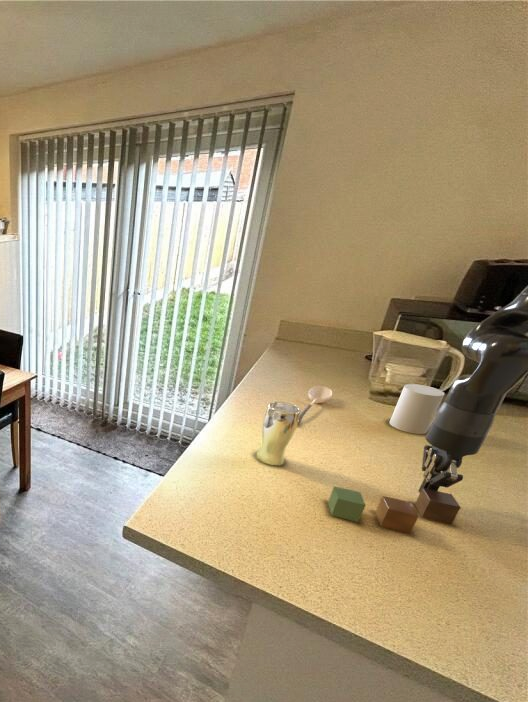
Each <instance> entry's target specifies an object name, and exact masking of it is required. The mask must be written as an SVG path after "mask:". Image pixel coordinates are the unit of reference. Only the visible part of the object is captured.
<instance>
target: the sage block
mask: <svg viewBox="0 0 528 702" xmlns="http://www.w3.org/2000/svg"><path fill="white" fill-rule="evenodd" d="M327 504H328V508H329V511H330V516H332V517H335V518H340V519H345V520H348V521H352V522H356V523H359V521H360V519H361V517H362V514H363V513H364V510H365V507H366V503H365V501H364V497H363V496H362V494H361V492H360V491H356V490H352V489H348V488H344V487H340V486H334V485H333V488H332V490H331V493H330V496H329V498H328V501H327Z"/></svg>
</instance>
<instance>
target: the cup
mask: <svg viewBox="0 0 528 702" xmlns="http://www.w3.org/2000/svg"><path fill="white" fill-rule="evenodd" d="M444 396H445V392H444V391H443V390H440V389H438V388H436V387H432V386H430V385H429V386H428V385H424V384H418V383H406V384H404V386H403V388H402V391H401V394H400V396H399V398H398V400H397V402H396V405H395V408H394V409H393V412H392V414H391V417H390V420H389V425H390V426H392V427H393V428H394V429H397V430H400V431H402V432H406V433H409V434H415V435H416V434H417V435H423V434H427V433H428V431H429V429H430V427H431V425H432V422H433V420H434V418H435V416H436V414H437V412H438V410H439V408H440V406H441V403H442V400H443V399H444Z"/></svg>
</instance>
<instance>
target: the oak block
mask: <svg viewBox="0 0 528 702" xmlns="http://www.w3.org/2000/svg"><path fill="white" fill-rule="evenodd" d="M375 515H376V517H377V520H378V522H379V525H380V527H383V528H385V529H386V528H387V529H391V530H395V531H398V532H402V533H406V534H411V533H412V531H413V529H414V528H415V525H416V523H417V521H418V519H419V514H418V511H417V509H416V507H415V505H413V502H411V501H408V500H403V499H399V498H395V497H391V496H386V495H382V497H381V499H380V501H379V503H378V506H377V508H376V510H375Z"/></svg>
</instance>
